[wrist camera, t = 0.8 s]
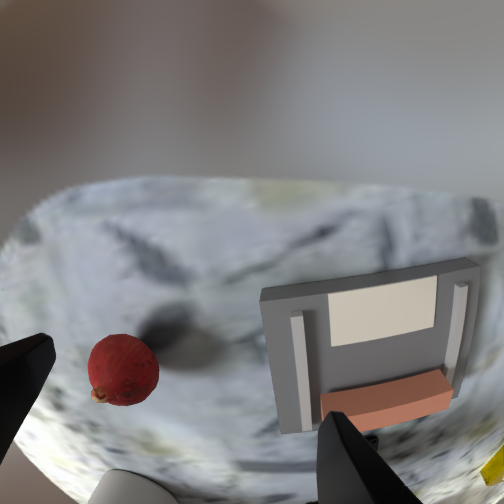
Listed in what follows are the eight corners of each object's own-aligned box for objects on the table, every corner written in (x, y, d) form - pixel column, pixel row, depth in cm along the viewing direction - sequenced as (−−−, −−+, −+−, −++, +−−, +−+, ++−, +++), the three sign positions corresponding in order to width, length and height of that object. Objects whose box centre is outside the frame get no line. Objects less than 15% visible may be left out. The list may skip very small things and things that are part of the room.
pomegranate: (173, 329, 23) (132, 387, 15) (169, 380, 25) (136, 440, 17) (113, 310, 24) (60, 355, 16) (114, 361, 25) (72, 410, 17)
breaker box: (447, 382, 22) (460, 401, 19) (281, 415, 24) (280, 440, 21) (465, 257, 19) (486, 268, 16) (261, 288, 22) (258, 306, 18)
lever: (435, 387, 19) (448, 408, 16) (321, 412, 20) (324, 437, 17) (439, 368, 19) (453, 389, 16) (320, 394, 20) (323, 420, 17)
